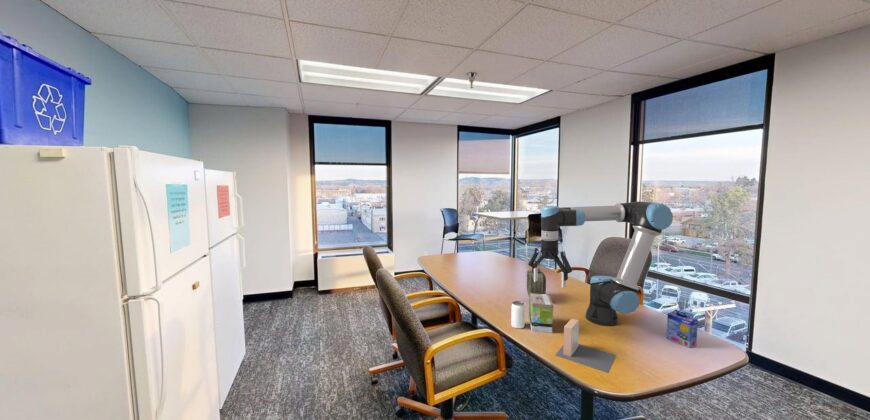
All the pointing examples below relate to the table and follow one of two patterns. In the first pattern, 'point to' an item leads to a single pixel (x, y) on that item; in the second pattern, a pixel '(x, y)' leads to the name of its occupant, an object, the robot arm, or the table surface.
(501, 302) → the table surface
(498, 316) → the table surface
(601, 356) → the mat
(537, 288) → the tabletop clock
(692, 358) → the table surface
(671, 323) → the ink cartridge box
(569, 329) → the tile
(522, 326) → the can
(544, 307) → the tea box
